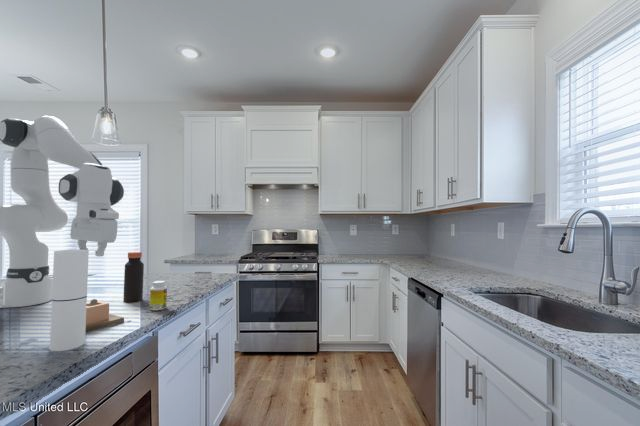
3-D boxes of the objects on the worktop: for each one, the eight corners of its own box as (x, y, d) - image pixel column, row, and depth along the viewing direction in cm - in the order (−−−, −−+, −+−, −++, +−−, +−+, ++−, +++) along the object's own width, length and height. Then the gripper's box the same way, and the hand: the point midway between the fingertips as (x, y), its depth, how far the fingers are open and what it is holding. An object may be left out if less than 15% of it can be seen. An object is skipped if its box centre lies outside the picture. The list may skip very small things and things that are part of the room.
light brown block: (74, 321, 93) (75, 305, 93) (97, 315, 99) (97, 300, 99) (86, 324, 90) (86, 308, 90) (108, 318, 96) (109, 303, 96)
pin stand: (60, 327, 92) (61, 300, 92) (102, 316, 103) (103, 292, 103) (81, 334, 87) (82, 306, 87) (123, 322, 98) (124, 297, 98)
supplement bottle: (165, 310, 111) (166, 282, 112) (148, 311, 109) (149, 283, 110) (167, 306, 116) (168, 279, 117) (151, 307, 115) (152, 280, 115)
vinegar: (131, 298, 128) (133, 251, 129) (146, 298, 127) (147, 251, 128) (119, 302, 121) (121, 252, 122) (134, 302, 120) (136, 253, 121)
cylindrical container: (55, 353, 74) (60, 252, 75) (45, 347, 78) (49, 250, 79) (89, 344, 80) (93, 250, 81) (78, 338, 84) (82, 249, 85)
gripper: (65, 211, 99) (63, 253, 99) (100, 213, 90) (98, 258, 90) (87, 212, 105) (84, 251, 105) (122, 213, 96) (119, 256, 96)
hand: (91, 254), depth 97 cm, fingers open, 8 cm apart
